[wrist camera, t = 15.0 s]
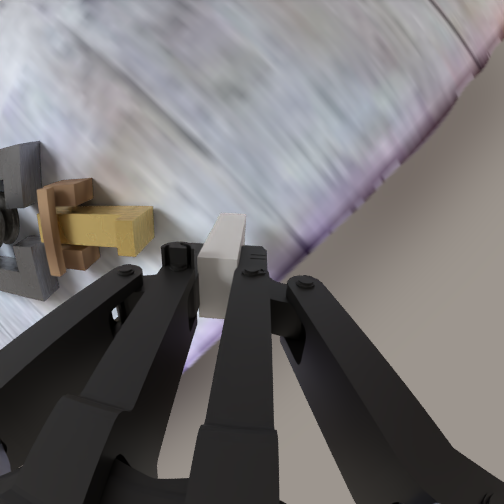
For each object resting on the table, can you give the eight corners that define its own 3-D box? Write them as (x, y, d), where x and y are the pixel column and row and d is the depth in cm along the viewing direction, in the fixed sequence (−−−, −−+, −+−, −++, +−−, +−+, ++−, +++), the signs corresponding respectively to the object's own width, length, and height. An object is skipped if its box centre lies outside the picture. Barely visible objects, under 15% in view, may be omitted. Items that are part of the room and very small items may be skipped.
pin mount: (62, 180, 18) (32, 190, 14) (92, 178, 18) (62, 188, 14) (71, 254, 20) (46, 274, 17) (100, 257, 20) (76, 279, 17)
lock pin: (53, 206, 18) (26, 219, 15) (152, 206, 18) (132, 220, 15) (57, 232, 19) (32, 248, 16) (154, 237, 19) (135, 256, 16)
